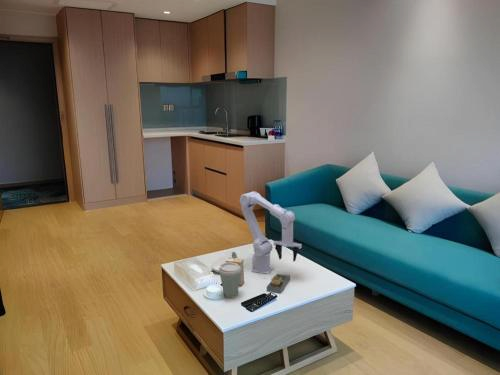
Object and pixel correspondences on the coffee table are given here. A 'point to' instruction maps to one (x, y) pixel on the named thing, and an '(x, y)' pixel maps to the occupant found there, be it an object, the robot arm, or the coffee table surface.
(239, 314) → the coffee table surface
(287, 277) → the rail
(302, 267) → the coffee table surface
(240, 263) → the supplement box
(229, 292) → the disposable coffee cup
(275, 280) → the wooden block
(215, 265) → the spoon rest
